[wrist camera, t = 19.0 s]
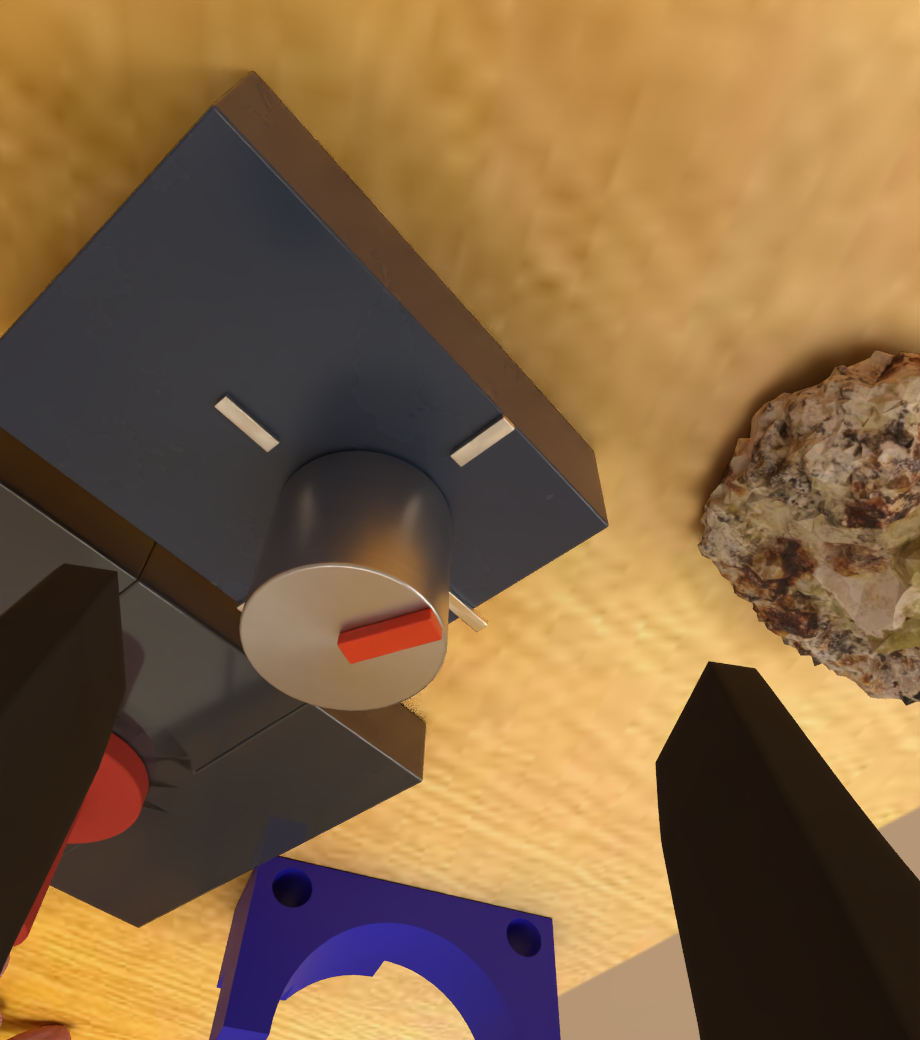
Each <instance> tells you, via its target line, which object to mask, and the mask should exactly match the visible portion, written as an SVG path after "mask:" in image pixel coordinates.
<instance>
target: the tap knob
mask: <svg viewBox="0 0 920 1040" xmlns="http://www.w3.org/2000/svg"><path fill="white" fill-rule="evenodd" d="M451 542H452V518H451V514H450V510H449V507H448V505H447V502H446V500H445V498H444V496H443V495H442V493H441V491H440V490H439V489H438V487H437V486H436V485H435V484H434V483H433V481H432V480H430V479H429V478H428V477H427V476H426V475H425V474H424V473H423V472H421V471H420V470H419V469H417V468H416V467H414V466H412V465H410V464H409V463H407V462H405V461H403V460H400V459H398V458H396V457H393V456H389V455H386V454H382V453H377V452H372V451H343V452H337V453H332V454H329V455H325V456H322V457H320V458H318V459H315V460H313V461H311V462H310V463H308V464H306V465H304V466H303V467H302V468H300V469H299V470H298V471H297V472H295V473H294V474H293V475H292V476H291V478H290V479H289V480H288V481H287V483H286V484H285V485H284V487H283V489H282V491H281V493H280V495H279V498H278V501H277V504H276V507H275V510H274V513H273V516H272V519H271V523H270V526H269V529H268V532H267V535H266V538H265V541H264V544H263V548H262V551H261V554H260V557H259V560H258V563H257V566H256V569H255V573H254V576H253V579H252V582H251V585H250V588H249V591H248V594H247V598H246V601H245V604H244V607H243V610H242V614H241V617H240V625H239V632H240V640H241V643H242V647H243V650H244V652H245V654H246V656H247V658H248V660H249V662H250V663H251V664H252V666H253V667H254V669H255V670H256V671H257V672H258V673H259V674H260V675H261V676H262V677H263V678H264V679H265V680H266V681H267V682H268V683H270V684H271V685H273V686H274V687H275V688H277V689H278V690H280V691H282V692H283V693H285V694H287V695H289V696H291V697H293V698H295V699H298V700H300V701H303V702H306V703H308V704H311V705H315V706H319V707H323V708H329V709H336V710H348V711H356V710H370V709H377V708H382V707H387V706H390V705H393V704H397V703H399V702H402V701H404V700H406V699H408V698H410V697H412V696H414V695H415V694H417V693H418V692H420V691H421V690H422V689H424V688H425V687H426V686H427V685H428V684H429V683H430V682H431V681H432V680H433V679H434V677H435V676H436V675H437V673H438V672H439V670H440V668H441V666H442V664H443V662H444V659H445V656H446V651H447V639H448V615H449V591H450V566H451Z"/></svg>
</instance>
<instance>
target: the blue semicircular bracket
mask: <svg viewBox="0 0 920 1040" xmlns="http://www.w3.org/2000/svg"><path fill="white" fill-rule="evenodd" d="M383 961H389V962H392V963H395V964H398V965H401V966H404V967H406V968H408V969H410V970H412V971H414V972H416V973H418V974H419V975H421V976H423V977H424V978H426V979H427V980H428V981H430V982H431V983H432V984H434V985H435V986H436V987H437V988H438V989H439V990H440V991H442V992H443V993H444V994H445V996H446V997H447V998H448V999H449V1000H450V1001H451V1002H452V1003H453V1004H454V1006H455V1007H456V1008H457V1010H458V1011H459V1012H460V1014H461V1015H462V1017H463V1018H464V1020H465V1022H466V1023H467V1025H468V1027H469V1029H470V1030H471V1032H472V1034H473V1036H474V1038H475V1040H561V1039H560V1025H559V1011H558V996H557V982H556V968H555V953H554V939H553V924H552V919H550V918H545V917H541V916H537V915H532V914H528V913H523V912H519V911H515V910H510V909H506V908H502V907H497V906H493V905H488V904H484V903H480V902H475V901H471V900H466V899H462V898H458V897H453V896H449V895H444V894H440V893H436V892H431V891H427V890H422V889H418V888H414V887H409V886H405V885H400V884H396V883H392V882H387V881H383V880H378V879H374V878H370V877H365V876H361V875H356V874H352V873H348V872H343V871H339V870H334V869H330V868H326V867H321V866H317V865H312V864H308V863H304V862H299V861H295V860H290V859H286V858H282V857H275V858H273V859H271V860H269V861H267V862H265V863H263V864H261V865H259V866H257V867H255V868H254V870H253V872H252V874H251V877H250V879H249V881H248V883H247V885H246V887H245V889H244V892H243V894H242V896H241V898H240V900H239V902H238V904H237V907H236V909H235V912H234V916H233V920H232V924H231V929H230V933H229V937H228V941H227V946H226V950H225V954H224V958H223V963H222V967H221V971H220V975H219V980H218V984H217V988H221V991H220V995H219V999H218V1004H217V1008H216V1012H215V1017H214V1021H213V1025H212V1030H211V1034H210V1038H209V1040H266V1039H267V1037H268V1036H269V1033H270V1029H271V1025H272V1020H273V1017H274V1014H275V1011H276V1008H277V1005H278V1002H279V1000H286V999H288V998H289V997H290V996H292V995H293V994H295V993H296V992H297V991H299V990H301V989H303V988H304V987H306V986H308V985H310V984H312V983H315V982H317V981H320V980H323V979H327V978H330V977H335V976H342V975H363V976H371V977H373V975H374V974H375V972H376V971H377V970H378V968H379V967H380V966H381V964H382V963H383Z"/></svg>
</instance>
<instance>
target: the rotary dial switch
mask: <svg viewBox="0 0 920 1040" xmlns="http://www.w3.org/2000/svg"><path fill="white" fill-rule="evenodd" d="M0 427H1V428H2V429H4V430H5V431H6V432H8V433H9V434H10V435H12V436H13V437H15V438H16V439H17V440H19V441H20V442H21V443H23V444H24V445H25V446H27V447H28V448H29V449H31V450H32V451H33V452H35V453H36V454H38V455H39V456H40V457H42V458H43V459H44V460H46V461H47V462H48V463H50V464H51V465H52V466H54V467H55V468H56V469H58V470H59V471H61V472H62V473H63V474H65V475H66V476H67V477H69V478H70V479H71V480H73V481H74V482H75V483H77V484H78V485H79V486H81V487H82V488H84V489H85V490H86V491H88V492H89V493H90V494H92V495H93V496H94V497H96V498H97V499H98V500H100V501H101V502H103V503H104V504H105V505H107V506H108V507H109V508H111V509H112V510H113V511H115V512H116V513H117V514H119V515H120V516H121V517H123V518H124V519H126V520H127V521H128V522H130V523H131V524H132V525H134V526H135V527H136V528H138V529H139V530H140V531H142V532H143V533H144V534H146V535H147V536H149V537H150V538H151V539H153V540H154V541H155V542H157V543H158V544H159V545H161V546H162V547H163V548H165V549H166V550H167V551H169V552H170V553H172V554H173V555H174V556H176V557H177V558H178V559H180V560H181V561H182V562H184V563H185V564H186V565H188V566H189V567H190V568H192V569H193V570H195V571H196V572H197V573H199V574H200V575H201V576H203V577H204V578H205V579H207V580H208V581H209V582H211V583H212V584H213V585H215V586H216V587H218V588H219V589H220V590H222V591H223V592H224V593H226V594H227V595H228V596H230V597H231V598H232V599H234V600H235V601H236V602H238V605H237V609H238V610H240V611H241V612H242V610H243V607H244V604H245V601H246V598H247V594H248V591H249V588H250V585H251V582H252V579H253V576H254V573H255V569H256V566H257V563H258V560H259V557H260V554H261V551H262V548H263V544H264V541H265V538H266V535H267V532H268V529H269V526H270V523H271V519H272V516H273V513H274V510H275V507H276V504H277V501H278V498H279V495H280V493H281V491H282V489H283V487H284V485H285V484H286V483H287V481H288V480H289V479H290V478H291V476H292V475H293V474H294V473H295V472H297V471H298V470H299V469H300V468H302V467H303V466H304V465H306V464H308V463H310V462H311V461H313V460H315V459H318V458H320V457H322V456H325V455H329V454H332V453H337V452H343V451H372V452H377V453H382V454H386V455H389V456H393V457H396V458H398V459H400V460H403V461H405V462H407V463H409V464H410V465H412V466H414V467H416V468H417V469H419V470H420V471H421V472H423V473H424V474H425V475H426V476H427V477H428V478H429V479H430V480H432V481H433V483H434V484H435V485H436V486H437V487H438V489H439V490H440V491H441V493H442V495H443V496H444V498H445V500H446V502H447V505H448V507H449V510H450V514H451V518H452V542H451V566H450V591H449V615H448V624H449V623H451V622H452V621H454V620H456V619H457V618H460V619H462V620H463V621H464V622H465V623H466V624H467V625H469V626H470V627H471V628H472V629H473V630H474V631H476V632H478V631H480V630H481V629H483V628H485V627H486V626H488V621H487V620H486V619H485V618H484V617H482V616H481V615H480V614H479V613H478V612H477V611H476V610H475V609H474V608H475V607H477V606H479V605H480V604H482V603H484V602H485V601H487V600H489V599H490V598H492V597H493V596H495V595H497V594H498V593H500V592H502V591H503V590H505V589H507V588H508V587H510V586H512V585H513V584H515V583H517V582H518V581H520V580H521V579H523V578H525V577H526V576H528V575H530V574H531V573H533V572H535V571H536V570H538V569H540V568H541V567H543V566H544V565H546V564H548V563H549V562H551V561H553V560H554V559H556V558H558V557H559V556H561V555H563V554H564V553H566V552H568V551H569V550H571V549H572V548H574V547H576V546H577V545H579V544H581V543H582V542H584V541H586V540H587V539H589V538H591V537H592V536H594V535H595V534H597V533H599V532H600V531H602V530H604V529H605V528H607V527H608V520H607V515H606V510H605V504H604V499H603V494H602V489H601V484H600V479H599V474H598V469H597V464H596V459H595V454H594V451H593V450H592V449H591V448H590V446H589V445H588V444H587V443H586V442H585V441H584V440H583V439H582V437H581V436H580V435H579V434H578V433H577V432H576V431H575V430H574V429H573V427H572V426H571V425H570V424H569V423H568V422H567V421H566V420H565V418H564V417H563V416H562V415H561V414H560V413H559V412H558V411H557V410H556V408H555V407H554V406H553V405H552V404H551V403H550V402H549V401H548V399H547V398H546V397H545V396H544V395H543V394H542V393H541V392H540V390H539V389H538V388H537V387H536V386H535V385H534V384H533V383H532V382H531V380H530V379H529V378H528V377H527V376H526V375H525V374H524V373H523V371H522V370H521V369H520V368H519V367H518V366H517V365H516V364H515V363H514V361H513V360H512V359H511V358H510V357H509V356H508V355H507V354H506V352H505V351H504V350H503V349H502V348H501V347H500V346H499V345H498V343H497V342H496V341H495V340H494V339H493V338H492V337H491V336H490V335H489V333H488V332H487V331H486V330H485V329H484V328H483V327H482V326H481V324H480V323H479V322H478V321H477V320H476V319H475V318H474V317H473V315H472V314H471V313H470V312H469V311H468V310H467V309H466V308H465V307H464V305H463V304H462V303H461V302H460V301H459V300H458V299H457V298H456V296H455V295H454V294H453V293H452V292H451V291H450V290H449V289H448V288H447V286H446V285H445V284H444V283H443V282H442V281H441V280H440V279H439V277H438V276H437V275H436V274H435V273H434V272H433V271H432V270H431V268H430V267H429V266H428V265H427V264H426V263H425V262H424V261H423V260H422V258H421V257H420V256H419V255H418V254H417V253H416V252H415V251H414V249H413V248H412V247H411V246H410V245H409V244H408V243H407V242H406V241H405V239H404V238H403V237H402V236H401V235H400V234H399V233H398V232H397V230H396V229H395V228H394V227H393V226H392V225H391V224H390V223H389V221H388V220H387V219H386V218H385V217H384V216H383V215H382V214H381V213H380V211H379V210H378V209H377V208H376V207H375V206H374V205H373V204H372V202H371V201H370V200H369V199H368V198H367V197H366V196H365V195H364V194H363V192H362V191H361V190H360V189H359V188H358V187H357V186H356V185H355V183H354V182H353V181H352V180H351V179H350V178H349V177H348V176H347V174H346V173H345V172H344V171H343V170H342V169H341V168H340V167H339V166H338V164H337V163H336V162H335V161H334V160H333V159H332V158H331V157H330V155H329V154H328V153H327V152H326V151H325V150H324V149H323V148H322V147H321V145H320V144H319V143H318V142H317V141H316V140H315V139H314V138H313V136H312V135H311V134H310V133H309V132H308V131H307V130H306V129H305V127H304V126H303V125H302V124H301V123H300V122H299V121H298V120H297V119H296V117H295V116H294V115H293V114H292V113H291V112H290V111H289V110H288V108H287V107H286V106H285V105H284V104H283V103H282V102H281V101H280V100H279V98H278V97H277V96H276V95H275V94H274V93H273V92H272V91H271V89H270V88H269V87H268V86H267V85H266V84H265V83H264V82H263V80H262V79H261V78H260V77H259V76H258V75H257V74H256V73H255V72H254V71H251V72H249V73H248V74H247V75H246V76H245V77H244V78H242V79H241V80H240V81H239V82H238V83H237V84H236V85H234V86H233V87H232V88H231V89H230V90H229V91H228V92H227V93H225V94H224V95H223V96H222V97H221V98H220V99H219V100H217V101H216V102H215V103H214V104H213V105H212V106H211V107H210V108H209V109H208V110H207V111H206V112H205V113H204V115H203V116H202V117H201V118H200V119H199V120H198V121H197V122H196V123H195V124H194V126H193V127H192V128H191V129H190V130H189V131H188V132H187V133H186V134H185V135H184V137H183V138H182V139H181V140H180V141H179V142H178V143H177V144H176V145H175V146H174V148H173V149H172V150H171V151H170V152H169V153H168V154H167V155H166V156H165V157H164V159H163V160H162V161H161V162H160V163H159V164H158V165H157V166H156V167H155V168H154V170H153V171H152V172H151V173H150V174H149V175H148V176H147V177H146V178H145V179H144V181H143V182H142V183H141V184H140V185H139V186H138V187H137V188H136V189H135V190H134V192H133V193H132V194H131V195H130V196H129V197H128V198H127V199H126V200H125V201H124V203H123V204H122V205H121V206H120V207H119V208H118V209H117V210H116V211H115V212H114V214H113V215H112V216H111V217H110V218H109V219H108V220H107V221H106V222H105V223H104V224H103V226H102V227H101V228H100V229H99V230H98V231H97V232H96V233H95V234H94V235H93V237H92V238H91V239H90V240H89V241H88V242H87V243H86V244H85V245H84V246H83V248H82V249H81V250H80V251H79V252H78V253H77V254H76V255H75V256H74V257H73V259H72V260H71V261H70V262H69V263H68V264H67V265H66V266H65V267H64V268H63V270H62V271H61V272H60V273H59V274H58V275H57V276H56V277H55V278H54V279H53V281H52V282H51V283H50V284H49V285H48V286H47V287H46V288H45V289H44V290H43V292H42V293H41V294H40V295H39V296H38V297H37V298H36V299H35V300H34V301H33V303H32V304H31V305H30V306H29V307H28V308H27V309H26V310H25V311H24V312H23V314H22V315H21V316H20V317H19V318H18V319H17V320H16V321H15V322H14V323H13V325H12V326H11V327H10V328H9V329H8V330H7V331H6V332H5V333H4V334H3V336H2V337H1V338H0Z"/></svg>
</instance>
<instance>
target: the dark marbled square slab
mask: <svg viewBox="0 0 920 1040" xmlns="http://www.w3.org/2000/svg"><path fill="white" fill-rule="evenodd" d="M64 563H66V564H73V565H80V566H86V567H93V568H99V569H106V570H112V571H118V584H119V598H120V611H121V624H122V638H123V651H124V664H125V677H126V691H125V694H124V697H123V700H122V703H121V706H120V709H119V712H118V715H117V718H116V721H115V724H114V727H113V730H112V732H113V733H114V734H116V735H117V736H119V737H120V738H121V739H122V740H124V741H125V742H126V743H127V744H128V745H129V746H130V747H131V748H132V749H133V750H134V751H135V752H136V753H137V754H138V756H139V757H140V758H141V760H142V762H143V764H144V765H145V768H146V771H147V774H148V781H149V787H148V792H147V795H146V798H145V801H144V804H143V806H142V809H141V812H140V815H139V816H138V818H137V819H136V821H135V822H134V823H133V824H132V825H131V826H130V827H129V828H128V829H126V830H125V831H124V832H122V833H120V834H118V835H116V836H114V837H111V838H108V839H105V840H101V841H97V842H89V843H77V844H69V843H67V845H66V847H65V849H64V852H63V854H62V856H61V859H60V861H59V864H58V866H57V868H56V871H55V873H54V875H53V878H52V880H51V882H50V886H52V887H54V888H56V889H58V890H60V891H63V892H65V893H67V894H69V895H71V896H73V897H75V898H77V899H79V900H81V901H83V902H85V903H88V904H90V905H92V906H94V907H96V908H98V909H100V910H102V911H104V912H106V913H108V914H110V915H112V916H115V917H117V918H119V919H121V920H123V921H125V922H127V923H129V924H131V925H133V926H135V927H138V928H139V927H141V926H143V925H145V924H147V923H149V922H151V921H153V920H155V919H157V918H159V917H161V916H163V915H165V914H167V913H168V912H170V911H172V910H174V909H176V908H178V907H180V906H182V905H184V904H186V903H188V902H190V901H192V900H194V899H196V898H197V897H199V896H201V895H203V894H205V893H207V892H209V891H211V890H213V889H215V888H217V887H219V886H221V885H223V884H225V883H226V882H228V881H230V880H232V879H234V878H236V877H238V876H240V875H242V874H244V873H246V872H248V871H250V870H252V869H254V868H255V867H257V866H259V865H261V864H263V863H265V862H267V861H269V860H271V859H273V858H275V857H277V856H279V855H281V854H283V853H285V852H286V851H288V850H290V849H292V848H294V847H296V846H298V845H300V844H302V843H304V842H306V841H308V840H310V839H312V838H314V837H315V836H317V835H319V834H321V833H323V832H325V831H327V830H329V829H331V828H333V827H335V826H337V825H339V824H341V823H343V822H344V821H346V820H348V819H350V818H352V817H354V816H356V815H358V814H360V813H362V812H364V811H366V810H368V809H370V808H372V807H373V806H375V805H377V804H379V803H381V802H383V801H385V800H387V799H389V798H391V797H393V796H395V795H397V794H399V793H401V792H402V791H404V790H406V789H408V788H410V787H412V786H414V785H416V784H418V783H420V782H422V780H423V765H424V749H425V733H426V723H425V722H424V721H422V720H421V719H420V718H418V717H417V716H416V715H414V714H413V713H412V712H410V711H409V710H408V709H406V708H405V707H404V706H402V705H401V704H400V703H397V704H393V705H390V706H387V707H382V708H377V709H370V710H356V711H348V710H336V709H329V708H323V707H319V706H315V705H311V704H308V703H306V702H303V701H300V700H298V699H295V698H293V697H291V696H289V695H287V694H285V693H283V692H282V691H280V690H278V689H277V688H275V687H274V686H273V685H271V684H270V683H268V682H267V681H266V680H265V679H264V678H263V677H262V676H261V675H260V674H259V673H258V672H257V671H256V670H255V669H254V667H253V666H252V664H251V663H250V662H249V660H248V658H247V656H246V654H245V652H244V650H243V647H242V643H241V640H240V632H239V625H240V617H241V614H242V612H241V611H240V610H238V609H237V605H238V602H236V601H235V600H234V599H232V598H231V597H230V596H228V595H227V594H226V593H224V592H223V591H222V590H220V589H219V588H218V587H216V586H215V585H213V584H212V583H211V582H209V581H208V580H207V579H205V578H204V577H203V576H201V575H200V574H199V573H197V572H196V571H195V570H193V569H192V568H190V567H189V566H188V565H186V564H185V563H184V562H182V561H181V560H180V559H178V558H177V557H176V556H174V555H173V554H172V553H170V552H169V551H167V550H166V549H165V548H163V547H162V546H161V545H159V544H158V543H157V542H155V541H154V540H153V539H151V538H150V537H149V536H147V535H146V534H144V533H143V532H142V531H140V530H139V529H138V528H136V527H135V526H134V525H132V524H131V523H130V522H128V521H127V520H126V519H124V518H123V517H121V516H120V515H119V514H117V513H116V512H115V511H113V510H112V509H111V508H109V507H108V506H107V505H105V504H104V503H103V502H101V501H100V500H98V499H97V498H96V497H94V496H93V495H92V494H90V493H89V492H88V491H86V490H85V489H84V488H82V487H81V486H79V485H78V484H77V483H75V482H74V481H73V480H71V479H70V478H69V477H67V476H66V475H65V474H63V473H62V472H61V471H59V470H58V469H56V468H55V467H54V466H52V465H51V464H50V463H48V462H47V461H46V460H44V459H43V458H42V457H40V456H39V455H38V454H36V453H35V452H33V451H32V450H31V449H29V448H28V447H27V446H25V445H24V444H23V443H21V442H20V441H19V440H17V439H16V438H15V437H13V436H12V435H10V434H9V433H8V432H6V431H5V430H4V429H2V428H1V427H0V615H1V614H3V613H4V612H5V611H6V610H7V609H8V608H10V607H11V606H12V605H13V604H14V603H16V602H17V601H18V600H19V599H20V598H21V597H23V596H24V595H25V594H26V593H27V592H29V591H30V590H31V589H32V588H33V587H34V586H36V585H37V584H38V583H39V582H40V581H41V580H43V579H44V578H45V577H46V576H47V575H49V574H50V573H51V572H52V571H53V570H55V569H56V568H57V567H59V566H61V565H62V564H64Z"/></svg>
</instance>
